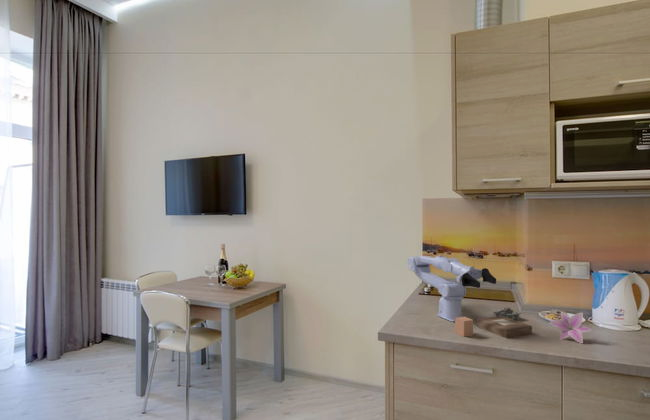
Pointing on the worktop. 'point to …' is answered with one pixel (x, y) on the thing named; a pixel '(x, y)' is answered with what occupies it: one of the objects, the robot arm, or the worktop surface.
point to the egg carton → (507, 313)
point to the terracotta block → (464, 326)
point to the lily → (571, 326)
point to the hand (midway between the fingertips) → (487, 283)
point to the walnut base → (504, 326)
